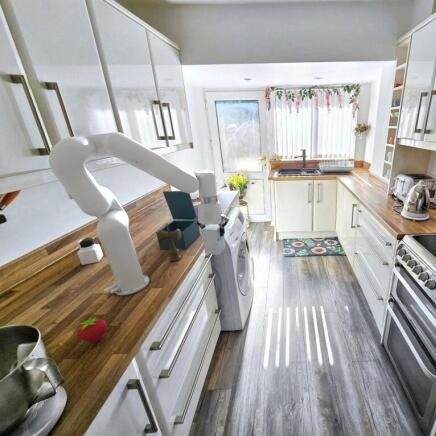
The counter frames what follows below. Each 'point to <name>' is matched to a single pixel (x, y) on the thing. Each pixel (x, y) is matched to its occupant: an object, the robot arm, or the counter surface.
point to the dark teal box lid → (180, 205)
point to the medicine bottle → (89, 251)
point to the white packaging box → (213, 240)
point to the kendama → (170, 241)
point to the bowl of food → (196, 205)
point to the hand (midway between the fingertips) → (213, 234)
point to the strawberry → (92, 330)
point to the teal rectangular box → (187, 234)
